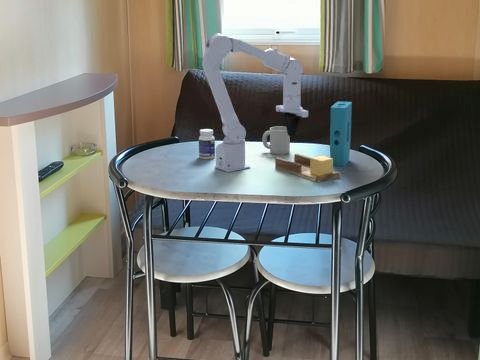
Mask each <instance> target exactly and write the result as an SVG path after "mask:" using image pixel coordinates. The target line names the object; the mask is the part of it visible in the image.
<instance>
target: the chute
mask: <svg viewBox="0 0 480 360" xmlns="http://www.w3.org/2000/svg"><path fill="white" fill-rule="evenodd" d="M293 156H294V157H293V158H294V161H291V160H288V159H284V158H282V157H279V156H278V157H275V158H274V160H275V161H274V163H275V164H274V165H275V169H277V170H280V171H283V172H286V173H289V174H292V175H294V176H295V175H296V176H299V177H301V178H304V179H306V180H310V181H313V182H316V183H320V182H325V181H329V180H332V179H338V178H340V177H341V172H340V171H336V172H335V171H333V173H330V174H326V175H321V176H317V175H314V174H311V173H310V158H311V157H309V156H306V155H304V154H299V153H294V155H293Z"/></svg>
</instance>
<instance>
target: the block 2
mask: <svg viewBox="0 0 480 360" xmlns="http://www.w3.org/2000/svg"><path fill="white" fill-rule="evenodd" d="M352 105H353V102H352V101H336V102H335V103H334V104H333V105H332V106H330V124H329V125H330V127H329V128H330V130H329V131H330V132H329V152H330V153H329V158H333V167H334V166H336V167H345V166H346V165H347V164H348V163H349V161H350V152H351V151H350V150H351V149H350V148H351V137H352Z"/></svg>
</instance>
